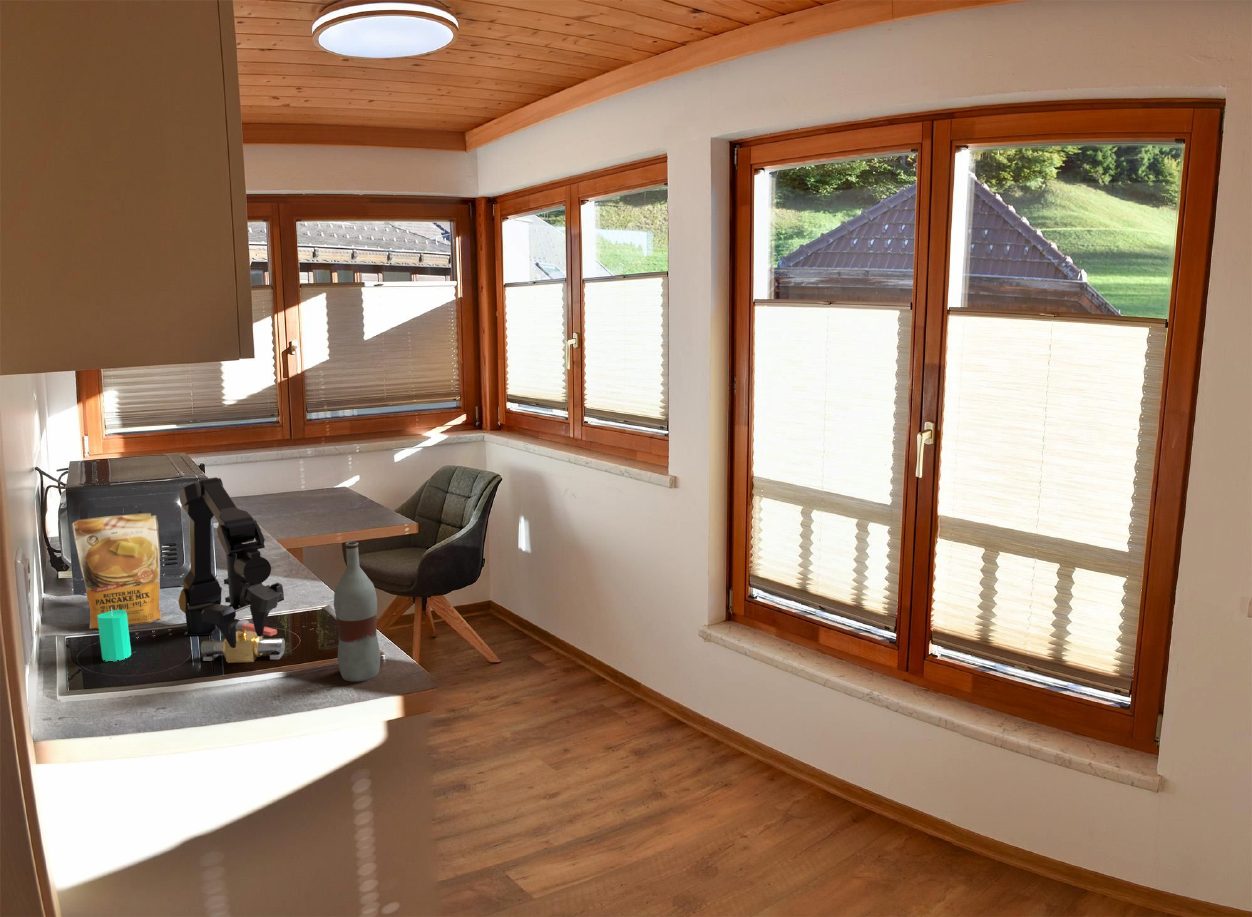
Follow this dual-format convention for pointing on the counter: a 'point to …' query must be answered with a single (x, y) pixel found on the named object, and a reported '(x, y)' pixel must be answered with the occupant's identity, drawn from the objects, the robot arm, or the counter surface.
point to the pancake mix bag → (120, 565)
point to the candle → (114, 635)
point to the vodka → (356, 621)
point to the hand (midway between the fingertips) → (246, 641)
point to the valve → (243, 648)
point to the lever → (250, 627)
